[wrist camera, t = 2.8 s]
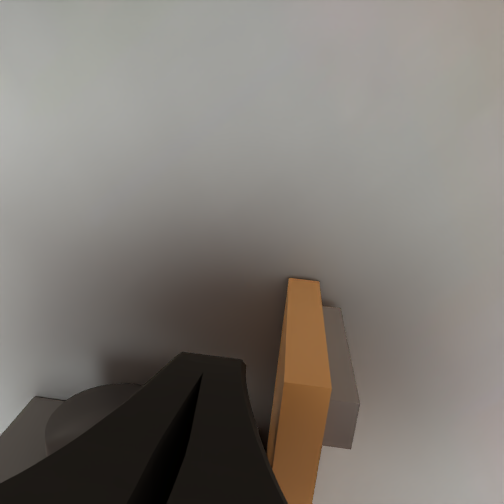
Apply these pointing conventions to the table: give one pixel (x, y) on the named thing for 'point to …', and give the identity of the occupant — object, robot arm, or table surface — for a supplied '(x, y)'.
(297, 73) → the table surface
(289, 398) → the side door
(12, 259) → the table surface
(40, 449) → the camera housing
